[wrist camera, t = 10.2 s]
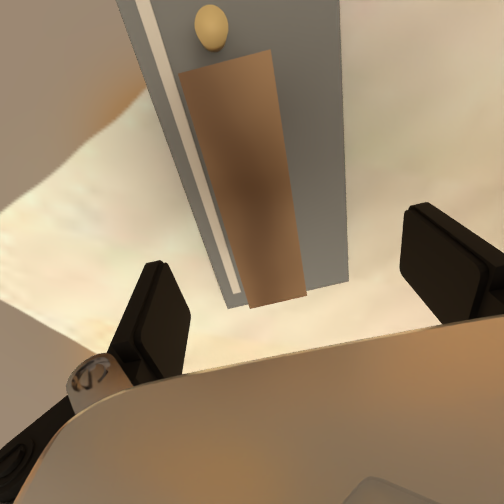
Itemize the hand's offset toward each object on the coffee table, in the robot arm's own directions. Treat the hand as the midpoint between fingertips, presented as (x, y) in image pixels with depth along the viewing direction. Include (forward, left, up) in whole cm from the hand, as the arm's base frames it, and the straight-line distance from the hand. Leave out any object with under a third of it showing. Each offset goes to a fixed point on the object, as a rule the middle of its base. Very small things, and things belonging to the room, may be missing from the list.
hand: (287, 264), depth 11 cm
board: (-1, 0, -14) cm, 15 cm away
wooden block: (+1, 0, -13) cm, 13 cm away
